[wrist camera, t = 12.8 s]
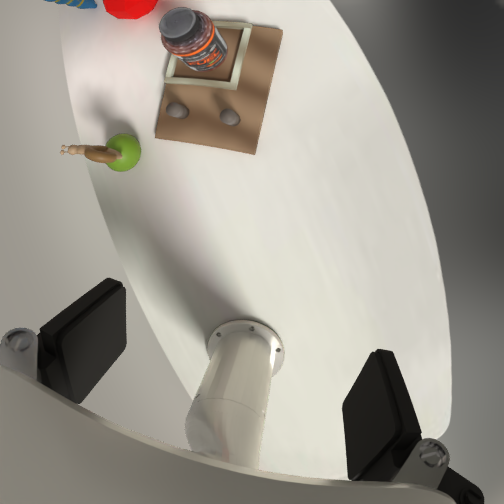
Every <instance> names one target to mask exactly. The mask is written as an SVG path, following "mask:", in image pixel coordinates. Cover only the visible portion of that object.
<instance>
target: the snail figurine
mask: <svg viewBox="0 0 504 504" xmlns="http://www.w3.org/2000/svg"><path fill="white" fill-rule="evenodd" d="M68 147H69V148H68V153H69V154H71V155H74V154H84V155H85V157H86V158H88V159H90V160H92V161H95V162H99V163H106V164H107V165H108V167H110V168H111V169H112V170H115V171H119V172H123V171H127V170H130V169H131V168H133V167H134V166H135V165H136V164H137V162H138V161H139V158H140V155H141V148H140V144H139V142H138V141H137V139H136V138H135V137H133V136H131V135H129V134H118V135H116V136H114V137H112V138H111V139H110V140H109V141H108V142H107V144H106V146H90V145H79V146H77V145H71V146H68ZM62 149H65V145H62ZM60 153H61V154H64V153H65V152H64V151H63V150H62V151H61V152H60Z"/></svg>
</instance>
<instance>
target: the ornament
mask: <svg viewBox="0 0 504 504" xmlns="http://www.w3.org/2000/svg"><path fill="white" fill-rule="evenodd" d="M45 1H49V2H52V1H55V3H57V4H67V5H68V6H76V7H77V8H80V9H87V8H96V7H97V4H96V3H95V1H94V0H45Z"/></svg>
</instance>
